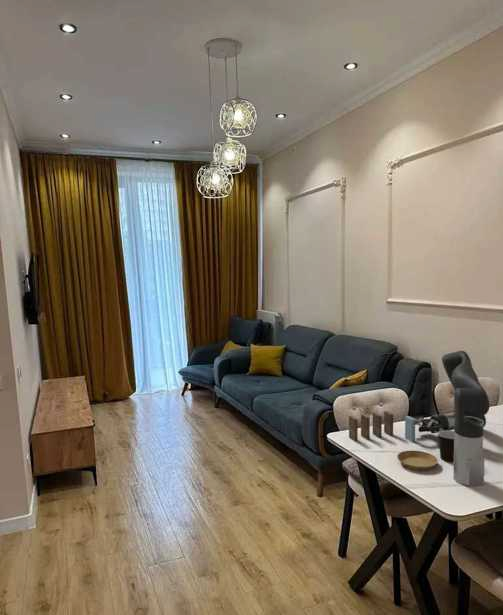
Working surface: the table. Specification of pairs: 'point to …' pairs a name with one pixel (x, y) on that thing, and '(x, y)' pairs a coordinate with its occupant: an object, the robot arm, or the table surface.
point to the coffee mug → (446, 445)
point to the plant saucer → (417, 460)
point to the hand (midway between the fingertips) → (412, 426)
